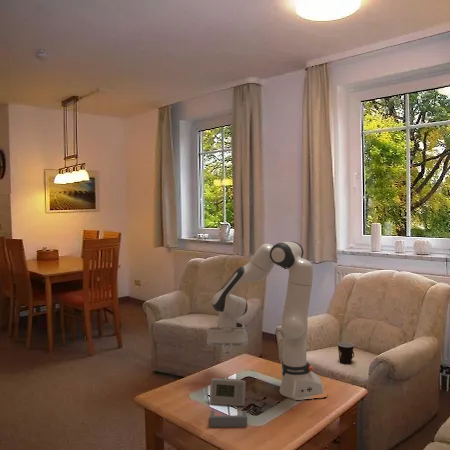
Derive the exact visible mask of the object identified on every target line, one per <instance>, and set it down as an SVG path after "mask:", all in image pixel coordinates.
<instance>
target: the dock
mask: <svg viewBox="0 0 450 450" xmlns="http://www.w3.org/2000/svg"><path fill="white" fill-rule="evenodd" d="M209 428H248V415H247V410H242V414H241V415H237V414H236V415H215V410H210V415H209Z"/></svg>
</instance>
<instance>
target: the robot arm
mask: <svg viewBox="0 0 450 450" xmlns="http://www.w3.org/2000/svg"><path fill="white" fill-rule="evenodd" d="M303 257H304V249H303V246H302V245H301V244H300V243H299V242H296V241H288V240H287V241H281V242H277V243H276V244H274V245H273V244H271V243H263V244H262V245H261V246H259V247H258V249H257V250H256V251H255V252H254V254H253V256H252V257H251V259H250V260H249V261H248V262H247V263H246V264H245V265H243V266H240V267H238V268H237V269H236V270H235V271H234V272H233V273H232V275H231V276H230V277H229V278H228V279H227V281H226V282H225V283H224V284H223V286H221V288H220V289H219V290H217V292H215V294H214V295H213V296H212V299H211V305H212V307H213V309H214V310H215V312H218V316H219V320H218V326H217V327H216V326H211V327H209V328H207V330H206V335H207V337H206V338H207V339H206V344H207V345H208V346H221V347H222V350H223V351H224V354H225V355H226V354H227V355H229V354H231V351H232V349H233V347H235V346H236V347H237V346H238V347H246V346H247V345H248V344H249V343H248V342H249V341H248V340H249V339H248V333H247V332H248V331H247V330H246V326H245V324H244V323H240V322H239V321H236V320H237V319H239V318H241V317H243V316H245V315H246V314H247V312H248V308H249V306H248V301H247V299H246V298H244V297H241V296H238V295H234V294H232V293H233V292H234V291H235V289H236V288H237V287H238V285H240V284H243V283H249V282H250V283H252V282H253V283H255V282H262V281H264V280H265V279H266V278H268V276H269V275H270V273H271V271H272V269H273V267H274V266H275V265H276V266H279V267H280V268H283V269H284V270H287V269H288V279H287V285H286V286H287V287H286V288H287V289H286V295H285V300H284V306H283V311H282V317H281V324H280V329H281V332H282V335H283V343H282V361H281V375H282V376H281V382H280V388H279V393H280V394H281V396H283V397H286V398H289V399H292V400H293V401H296V400H302V399H305V398H311V397H313V395H319V394H323V386H324V385H323V381H322V379H321V378H320V376H319V375H317V374H316V373H315V372H313V371H314V368H313V366H312V365H311V364H310V363H309V361H307V346H308V345H307V344H308V326H309V324H308V322H309V321H308V320H309V319H308V313H309V308H310V307H309V306H310V302H311V294H312V286H313V274H314V273H313V265H312V263H311V262H310V260H307V259H305V258H303ZM226 347H229V348H226ZM302 401H303V400H302Z"/></svg>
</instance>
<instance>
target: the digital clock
mask: <svg viewBox="0 0 450 450" xmlns="http://www.w3.org/2000/svg"><path fill="white" fill-rule="evenodd" d="M246 383H247V382H246V380H243V379H234V378H222V377H221V378H217V377H215V378H214V377H213V378H211V379H210V391H209V394H210V395H209V403H210V404H211V405H217V406H228V407H245V405H246V389H247V384H246Z"/></svg>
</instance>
